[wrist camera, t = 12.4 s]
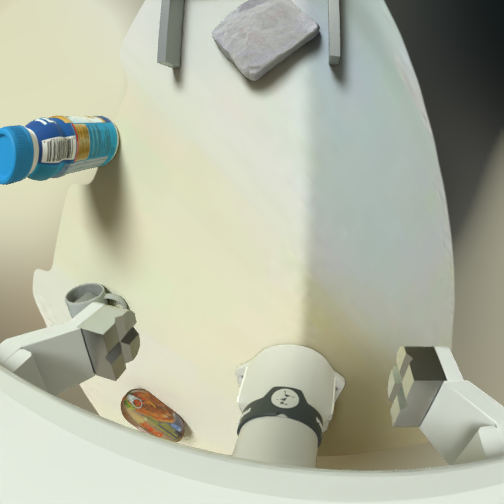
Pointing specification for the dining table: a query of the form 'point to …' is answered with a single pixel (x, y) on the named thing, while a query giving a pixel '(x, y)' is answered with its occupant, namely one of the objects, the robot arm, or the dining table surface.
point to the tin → (151, 415)
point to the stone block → (263, 35)
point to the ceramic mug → (89, 297)
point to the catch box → (173, 32)
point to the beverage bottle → (56, 147)
